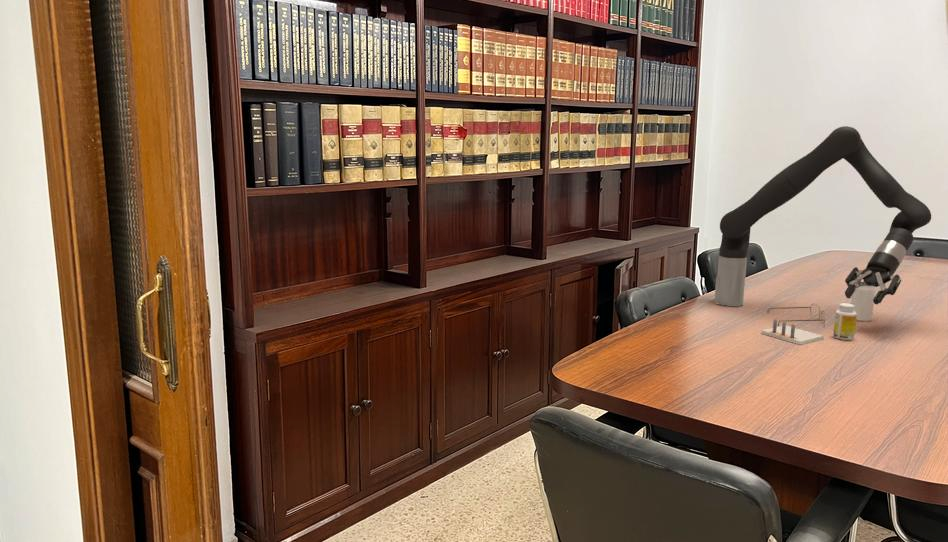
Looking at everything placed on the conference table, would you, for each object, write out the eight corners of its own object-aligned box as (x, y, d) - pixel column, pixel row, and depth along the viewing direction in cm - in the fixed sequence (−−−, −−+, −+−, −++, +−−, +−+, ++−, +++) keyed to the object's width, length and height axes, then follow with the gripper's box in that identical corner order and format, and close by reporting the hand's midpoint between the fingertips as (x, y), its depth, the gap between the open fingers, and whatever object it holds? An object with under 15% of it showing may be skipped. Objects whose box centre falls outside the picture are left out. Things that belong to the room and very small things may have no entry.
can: (874, 322, 221) (879, 286, 219) (852, 321, 223) (856, 285, 220) (867, 317, 228) (871, 281, 225) (846, 316, 229) (850, 280, 226)
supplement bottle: (858, 339, 204) (862, 305, 202) (845, 341, 201) (849, 308, 199) (841, 334, 209) (844, 301, 207) (828, 336, 206) (832, 303, 204)
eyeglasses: (828, 330, 215) (830, 314, 214) (777, 327, 218) (779, 312, 217) (814, 316, 230) (815, 302, 229) (766, 314, 233) (768, 300, 232)
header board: (761, 333, 209) (762, 317, 208) (784, 328, 215) (786, 312, 214) (800, 344, 198) (801, 328, 197) (823, 339, 204) (825, 322, 203)
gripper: (860, 247, 214) (833, 287, 210) (907, 254, 202) (880, 297, 198) (867, 262, 217) (842, 302, 214) (915, 270, 205) (888, 312, 202)
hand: (860, 299), depth 206 cm, fingers open, 8 cm apart
